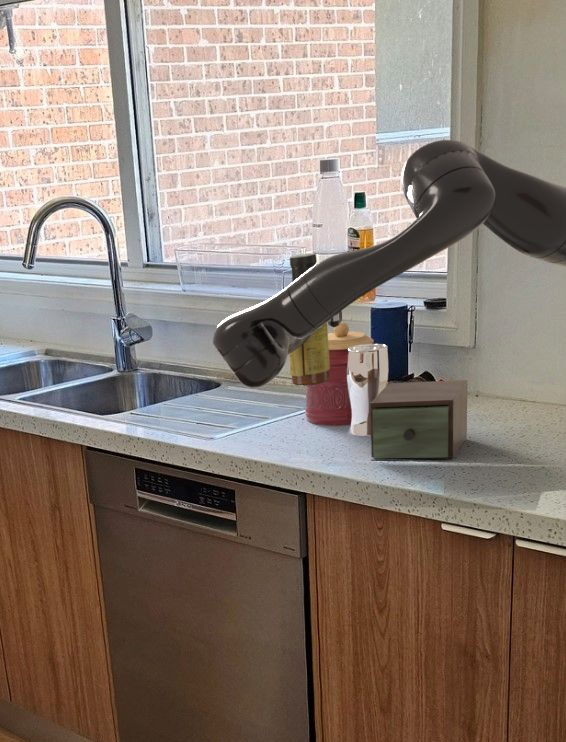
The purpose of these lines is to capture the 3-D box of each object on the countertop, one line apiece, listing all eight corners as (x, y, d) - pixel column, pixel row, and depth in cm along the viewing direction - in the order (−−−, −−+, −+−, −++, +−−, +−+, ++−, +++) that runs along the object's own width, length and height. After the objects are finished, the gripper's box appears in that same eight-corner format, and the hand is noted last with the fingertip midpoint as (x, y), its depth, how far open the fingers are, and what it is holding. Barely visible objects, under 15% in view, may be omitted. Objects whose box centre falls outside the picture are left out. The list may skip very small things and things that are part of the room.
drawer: (446, 459, 189) (446, 409, 186) (372, 460, 194) (370, 412, 191) (461, 435, 201) (461, 388, 198) (390, 437, 206) (389, 391, 203)
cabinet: (452, 460, 191) (453, 399, 187) (371, 462, 197) (370, 402, 193) (466, 437, 203) (467, 379, 199) (389, 439, 208) (388, 383, 204)
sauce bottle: (334, 378, 198) (332, 250, 190) (322, 386, 193) (320, 255, 186) (296, 379, 201) (292, 253, 194) (283, 387, 197) (279, 258, 189)
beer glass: (385, 438, 209) (387, 349, 203) (344, 439, 211) (344, 351, 205) (388, 429, 215) (390, 342, 209) (348, 430, 217) (348, 344, 211)
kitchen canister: (298, 416, 231) (297, 321, 224) (367, 409, 231) (368, 314, 224) (313, 431, 220) (312, 331, 212) (385, 424, 219) (387, 323, 212)
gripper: (328, 298, 177) (354, 282, 190) (233, 306, 183) (264, 290, 197) (330, 351, 180) (356, 331, 193) (236, 357, 186) (267, 337, 200)
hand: (310, 310), depth 195 cm, fingers closed on sauce bottle, 6 cm apart
